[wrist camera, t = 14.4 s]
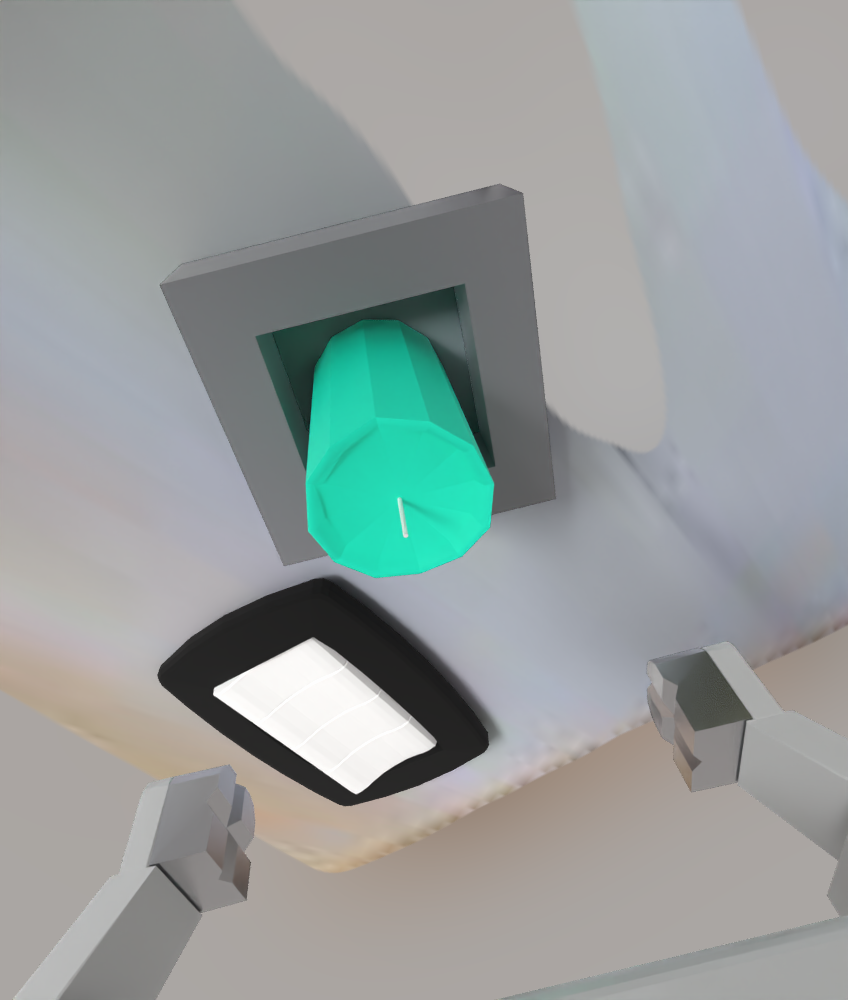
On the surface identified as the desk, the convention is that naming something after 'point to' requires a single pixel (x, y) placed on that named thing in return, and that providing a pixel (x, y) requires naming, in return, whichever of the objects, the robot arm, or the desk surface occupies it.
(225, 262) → the socket block
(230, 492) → the desk surface
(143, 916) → the robot arm
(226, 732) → the light switch
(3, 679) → the desk surface
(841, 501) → the desk surface
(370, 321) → the candle
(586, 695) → the desk surface
